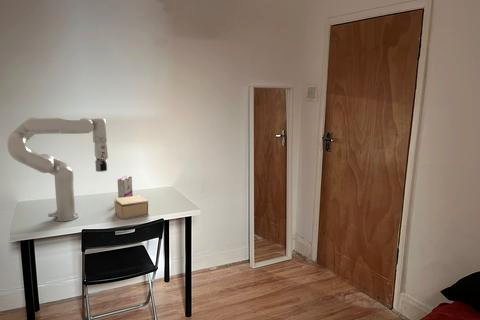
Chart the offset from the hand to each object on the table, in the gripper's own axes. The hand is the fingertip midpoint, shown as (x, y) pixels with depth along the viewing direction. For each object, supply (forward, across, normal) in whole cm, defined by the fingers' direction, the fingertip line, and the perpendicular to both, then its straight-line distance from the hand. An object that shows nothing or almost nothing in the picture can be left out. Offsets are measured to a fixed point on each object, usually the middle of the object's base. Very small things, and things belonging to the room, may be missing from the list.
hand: (101, 168), depth 222 cm
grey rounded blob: (+1, 0, 0) cm, 1 cm away
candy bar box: (+28, +14, -19) cm, 37 cm away
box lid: (+19, -12, -13) cm, 26 cm away
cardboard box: (+28, -12, -13) cm, 33 cm away
